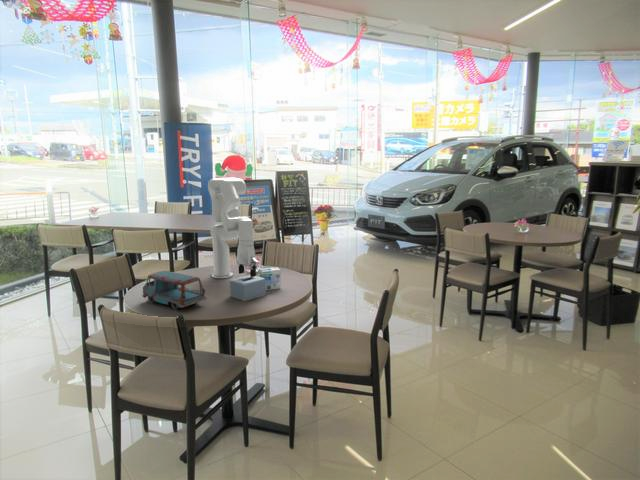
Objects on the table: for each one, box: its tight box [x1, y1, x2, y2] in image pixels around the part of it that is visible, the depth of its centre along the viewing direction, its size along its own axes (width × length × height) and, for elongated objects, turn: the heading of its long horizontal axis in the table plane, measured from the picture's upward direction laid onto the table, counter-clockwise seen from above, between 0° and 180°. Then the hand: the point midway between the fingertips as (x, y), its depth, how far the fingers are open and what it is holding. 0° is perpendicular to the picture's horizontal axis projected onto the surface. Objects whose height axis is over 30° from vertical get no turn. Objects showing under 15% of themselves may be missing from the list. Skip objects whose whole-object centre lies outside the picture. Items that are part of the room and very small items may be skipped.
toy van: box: [141, 270, 207, 311], centre depth 226 cm, size 16×32×15 cm, turn 57°
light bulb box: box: [259, 266, 282, 291], centre depth 251 cm, size 11×7×11 cm, turn 112°
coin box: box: [229, 274, 267, 302], centre depth 238 cm, size 12×14×9 cm
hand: (247, 274), depth 237 cm, fingers open, 9 cm apart
